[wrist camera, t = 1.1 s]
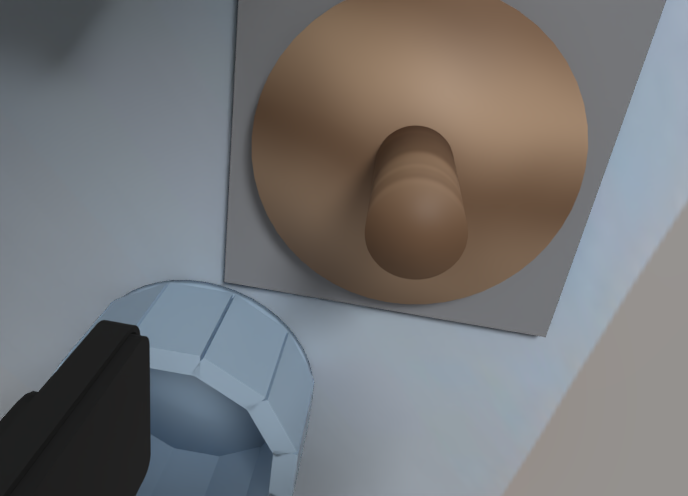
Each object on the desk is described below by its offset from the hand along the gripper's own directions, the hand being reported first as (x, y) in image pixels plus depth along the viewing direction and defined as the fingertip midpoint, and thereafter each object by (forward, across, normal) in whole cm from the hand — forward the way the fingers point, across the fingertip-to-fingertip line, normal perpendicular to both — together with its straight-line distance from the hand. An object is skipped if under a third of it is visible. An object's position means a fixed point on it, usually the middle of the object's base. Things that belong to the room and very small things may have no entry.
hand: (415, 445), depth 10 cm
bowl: (+15, +8, +12) cm, 21 cm away
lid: (+14, 0, 0) cm, 14 cm away
